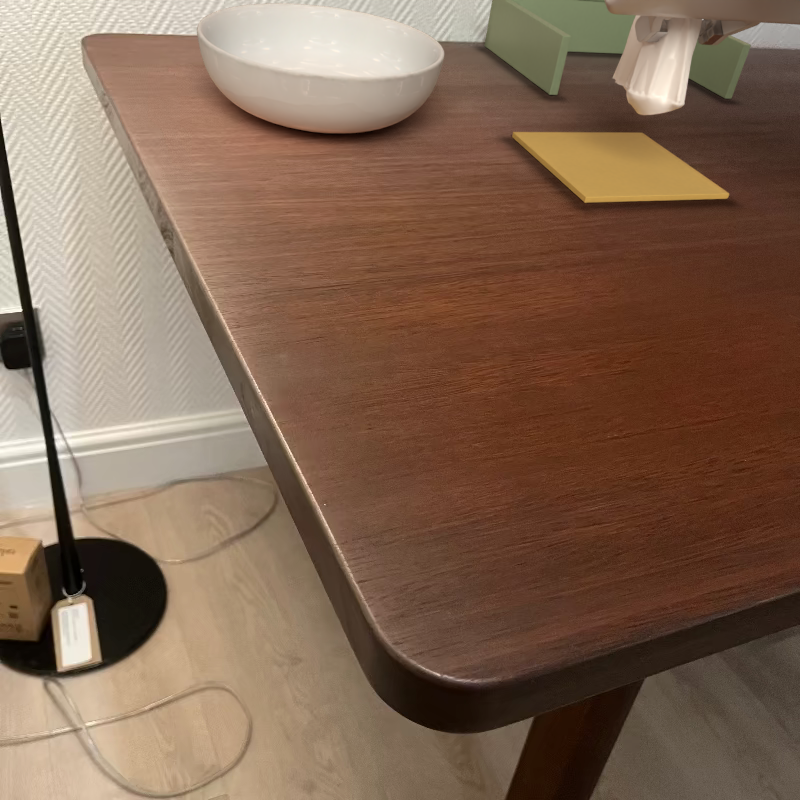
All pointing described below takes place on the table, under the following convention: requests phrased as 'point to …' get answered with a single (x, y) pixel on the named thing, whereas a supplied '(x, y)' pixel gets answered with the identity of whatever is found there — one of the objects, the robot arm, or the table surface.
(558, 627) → the table surface
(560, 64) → the cubby
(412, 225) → the table surface
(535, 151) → the board
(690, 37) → the white ridged piece
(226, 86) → the serving bowl
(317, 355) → the table surface
